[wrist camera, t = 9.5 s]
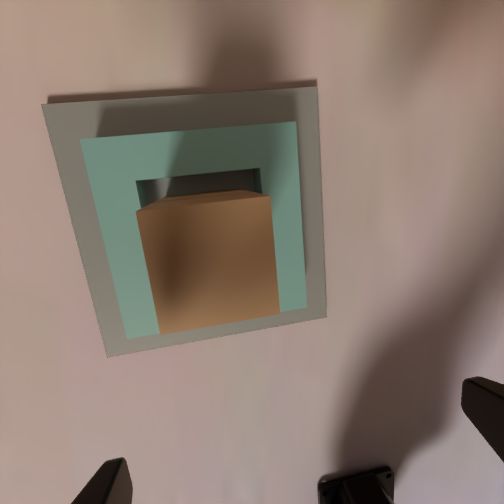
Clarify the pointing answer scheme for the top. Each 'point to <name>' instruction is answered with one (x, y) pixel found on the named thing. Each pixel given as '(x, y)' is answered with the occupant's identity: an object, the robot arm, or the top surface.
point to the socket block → (187, 182)
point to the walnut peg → (210, 258)
